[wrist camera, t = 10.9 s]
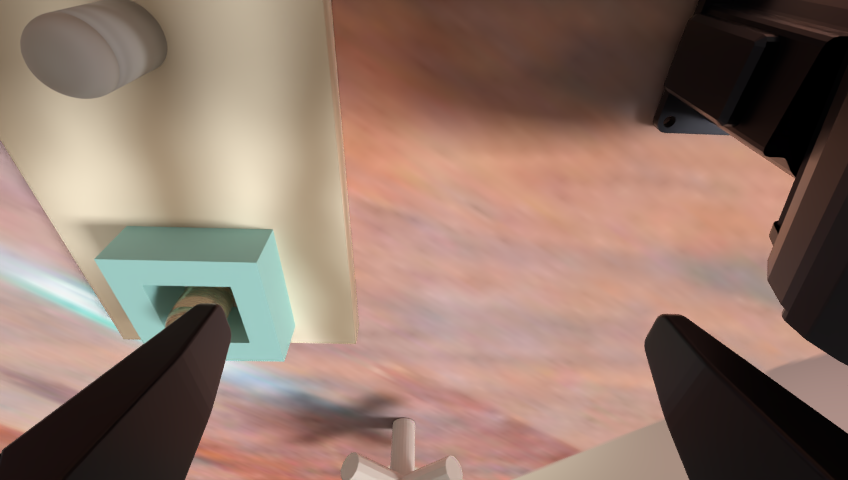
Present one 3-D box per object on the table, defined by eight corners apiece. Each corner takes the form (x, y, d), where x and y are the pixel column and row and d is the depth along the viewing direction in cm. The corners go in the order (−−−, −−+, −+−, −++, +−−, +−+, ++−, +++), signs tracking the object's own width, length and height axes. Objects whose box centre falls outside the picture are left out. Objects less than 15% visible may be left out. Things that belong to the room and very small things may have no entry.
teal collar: (272, 229, 20) (256, 262, 18) (295, 325, 24) (284, 361, 22) (126, 226, 20) (93, 259, 18) (175, 323, 24) (152, 359, 22)
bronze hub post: (236, 264, 21) (202, 327, 18) (246, 297, 23) (216, 361, 19) (189, 263, 21) (146, 326, 18) (202, 296, 23) (165, 360, 19)
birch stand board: (319, -136, 13) (265, -170, 9) (359, 325, 26) (345, 407, 22) (-133, -160, 13) (-439, -208, 8) (137, 320, 26) (77, 402, 22)
